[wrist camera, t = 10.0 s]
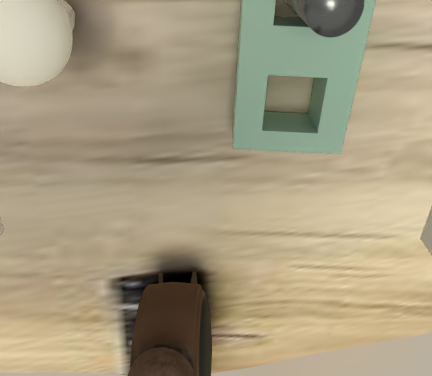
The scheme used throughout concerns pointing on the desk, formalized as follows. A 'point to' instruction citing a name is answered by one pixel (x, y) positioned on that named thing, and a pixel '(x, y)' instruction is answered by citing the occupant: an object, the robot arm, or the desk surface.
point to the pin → (328, 15)
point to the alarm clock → (172, 331)
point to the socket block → (300, 67)
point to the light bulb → (34, 40)
